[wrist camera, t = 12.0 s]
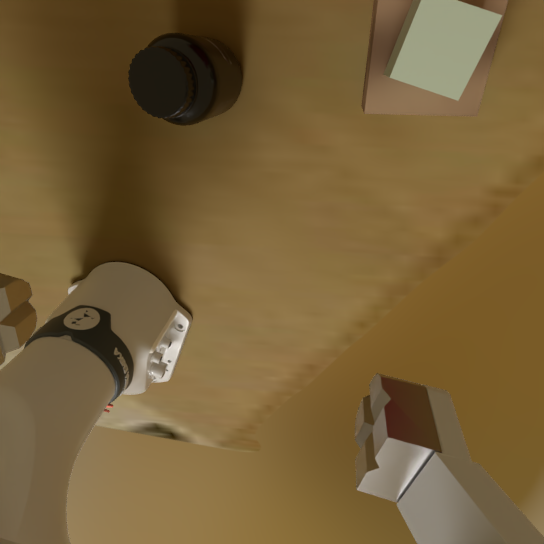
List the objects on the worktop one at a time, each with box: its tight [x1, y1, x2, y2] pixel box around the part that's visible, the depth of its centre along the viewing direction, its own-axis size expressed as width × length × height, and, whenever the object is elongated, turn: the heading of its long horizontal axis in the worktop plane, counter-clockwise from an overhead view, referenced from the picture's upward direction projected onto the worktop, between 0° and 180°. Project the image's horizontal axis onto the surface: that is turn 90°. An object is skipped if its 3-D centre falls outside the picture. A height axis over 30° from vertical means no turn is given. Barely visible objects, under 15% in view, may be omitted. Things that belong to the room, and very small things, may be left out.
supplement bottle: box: [128, 33, 242, 126], centre depth 32 cm, size 7×7×12 cm
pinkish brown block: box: [362, 0, 508, 116], centre depth 31 cm, size 9×9×6 cm
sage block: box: [383, 0, 502, 101], centre depth 26 cm, size 5×5×5 cm
